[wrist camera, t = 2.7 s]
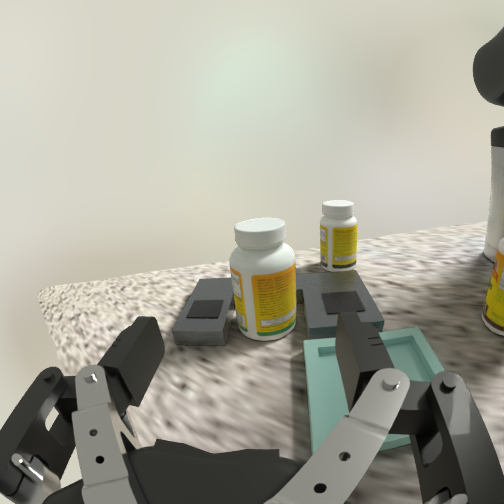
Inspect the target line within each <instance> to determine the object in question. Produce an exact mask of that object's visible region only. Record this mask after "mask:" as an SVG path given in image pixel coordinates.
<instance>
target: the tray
mask: <svg viewBox="0 0 504 504" xmlns="http://www.w3.org/2000/svg"><path fill="white" fill-rule="evenodd" d="M379 335H380V338H381V339H382V341H383V344H384V345H385V347H386V349H387V351H388V354H389V356H390V358H391V360H392V362H393V365H394V367H395V369H398V370H400V371H402V372H404V373H405V374H406V375H407V377H408V378H409V380H412V381H427V382H431V381H432V379H433V377H434V376H435V375H436V374H437V373H439V372H442V371H445V369H444V368H443V366H442V364H441V363H440V361H439V359H438V358H437V356H436V354H435V353H434V351H433V349H432V348H431V346H430V345H429V343H428V341H427V340H426V338H425V337H424V335H423V333H422V332H421V330H420V329H419V327H418V326H417V327H411V328H405V329H399V330H393V331H386V332H379ZM335 340H336V338H326V339H314V340H303V353H304V363H305V374H306V385H307V396H308V408H309V422H310V436H311V453H312V455H313V454H314V453H315V452H316V451H317V449H318V448H319V447H320V446H321V444H322V443H323V442H324V441H325V439H326V438H327V437H328V435H329V434H330V433H331V432H332V430H333V429H334V428H335V426H336V425H337V423H338V422H339V421H340V419H341V418H342V417H343V416H344V415H348V414H349V409H348V405H347V400H346V396H345V391H344V387H343V382H342V378H341V374H340V369H339V365H338V361H337V357H336V351H335ZM410 443H411V441H410V437H409V435H400V434H387V436H386V438H385V440H384V442H383V444H382V445H381V447H380V449H379V451H383V450H388V449H392V448H396V447H400V446H403V445H407V444H410ZM379 451H378V452H379Z"/></svg>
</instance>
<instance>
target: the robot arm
mask: <svg viewBox="0 0 504 504" xmlns="http://www.w3.org/2000/svg"><path fill="white" fill-rule="evenodd" d="M473 77H474V82H475V85H476V87H477V89H478V91H479V93H480V94H481V96H482V97H483V98H485V99H486V100H487V101H488V102H490V103H493V104H495V105H499V106H503V107H504V27H503V28H502V29H501V30H500V32H499V33H498V34H497V35H496V36H495V37H494V38H493V39H492V40H490V41H489V42H488V43H486V44H485V45H484V46H482V47H481V48H480V49H479V50H478V51H477V53H476V55H475V58H474V62H473ZM491 146H492V147H491V154H492V177H491V197H490V209H489V219H488V227H487V233H486V240H485V246H484V255H485V256H486V257H487V258H488V259H490V260H491V261H493V262H495V259H496V254H497V249H498V244H499V241H500V240H501V239H502V238H504V126H502V127H498V128H494V129H493V130H492V131H491ZM335 351H336V357H337V361H338V365H339V369H340V374H341V378H342V382H343V387H344V391H345V396H346V400H347V405H348V409H349V414H348V415H344V416H343V417H342V418H341V419H340V421H339V422H338V423H337V425H336V426H335V428H334V429H333V430H332V432H331V433H330V434H329V435H328V437H327V438H326V439H325V441H324V442H323V443H322V444H321V446H320V447H319V448H318V449H317V451H316V452H315V453H314V454H313V455H312V457H311V458H310V459H309V460H308V461H307V462H306V464H305V465H303V464H301V463H299V462H296V461H294V460H291V459H287V458H283V457H279V449H269V450H263V449H245V450H239V451H232V452H225V453H216V454H213V453H209V452H206V451H203V450H200V449H197V448H195V447H192V446H189V445H187V444H184V443H178V442H172V441H166V440H161V439H156V442H155V445H154V446H150V447H143V448H142V446H141V444H140V442H139V440H138V437H137V435H136V432H135V429H134V426H133V424H132V421H131V418H130V415H129V412H128V411H127V408H128V406H129V405H132V406H136V407H139V405H140V403H141V401H142V399H143V397H144V395H145V393H146V391H147V389H148V387H149V385H150V382H151V380H152V378H153V376H154V374H155V372H156V370H157V368H158V366H159V364H160V362H161V360H162V358H163V356H164V352H165V346H164V342H163V339H162V336H161V333H160V329H159V326H158V323H157V320H156V318H155V317H144V316H139V317H137V319H136V320H135V321H134V323H133V324H132V325H131V326H129V327H128V328H126V329H125V330H123V331H122V332H121V333H120V334H119V336H118V337H117V338H116V341H114V342H113V344H112V346H110V348H109V349H108V350H107V352H106V353H105V355H104V356H103V357H102V359H101V360H100V362H99V363H98V364H97V365H89V366H86V367H84V368H82V369H81V370H80V371H79V372H78V373H77V375H76V376H64V375H63V373H62V372H61V370H60V369H59V368H57V367H49V368H46V369H45V370H43V371H42V372H41V373H40V374H39V375H38V376H37V378H36V379H35V381H34V382H33V383H32V385H31V386H30V387H29V389H28V390H27V391H26V393H25V395H24V396H23V397H22V399H21V400H20V401H19V403H18V405H17V406H16V407H15V409H14V410H13V412H12V413H11V415H10V416H9V418H8V419H7V421H6V422H5V424H4V425H3V427H2V429H1V430H0V493H1V494H2V495H3V496H5V497H6V498H8V499H9V500H11V501H12V502H14V503H15V504H350V503H349V502H348V501H347V498H348V497H349V496H350V494H351V493H352V491H353V490H354V489H355V487H356V486H357V484H358V483H359V481H360V480H361V478H362V477H363V475H364V474H365V472H366V471H367V469H368V467H369V466H370V464H371V463H372V461H373V459H374V458H375V456H376V454H377V452H378V451H379V449H380V447H381V445H382V444H383V442H384V440H385V438H386V436H387V434H400V435H409V437H410V441H411V446H412V450H413V454H414V459H415V463H416V468H417V473H418V478H419V483H420V489H421V495H422V501H423V504H504V475H503V472H502V469H501V466H500V463H499V460H498V457H497V454H496V451H495V449H494V446H493V443H492V441H491V438H490V436H489V433H488V431H487V428H486V426H485V424H484V421H483V419H482V417H481V415H480V413H479V410H478V408H477V406H476V404H475V402H474V400H473V398H472V396H471V394H470V392H469V390H468V388H467V386H466V384H465V382H464V380H463V379H462V377H461V376H459V375H458V374H457V373H454V372H451V371H442V372H439V373H437V374H436V375H435V376H434V377H433V379H432V381H431V382H427V381H412V380H409V378H408V377H407V375H406V374H405V373H404V372H402V371H400V370H398V369H395V367H394V365H393V362H392V360H391V358H390V356H389V354H388V351H387V349H386V347H385V345H384V344H383V341H382V339H381V338H380V335H379V332H378V330H377V328H376V327H374V326H373V325H372V324H371V323H369V322H361V321H360V318H359V316H358V314H357V312H356V311H353V312H342V313H339V314H338V319H337V330H336V340H335ZM53 407H55V409H56V410H57V411H58V413H59V415H58V416H57V418H56V420H55V421H54V423H53V425H52V427H51V428H50V430H49V431H48V430H47V429H46V426H45V420H46V418H47V416H48V415H49V413H50V411H51V410H52V408H53ZM75 446H76V449H77V454H78V459H79V464H80V469H81V474H82V479H81V480H78V481H77V482H75V483H73V484H70V485H69V486H66V487H64V488H61V485H60V480H61V478H62V475H63V473H64V470H65V468H66V466H67V464H68V461H69V459H70V457H71V455H72V453H73V451H74V449H75Z"/></svg>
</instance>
